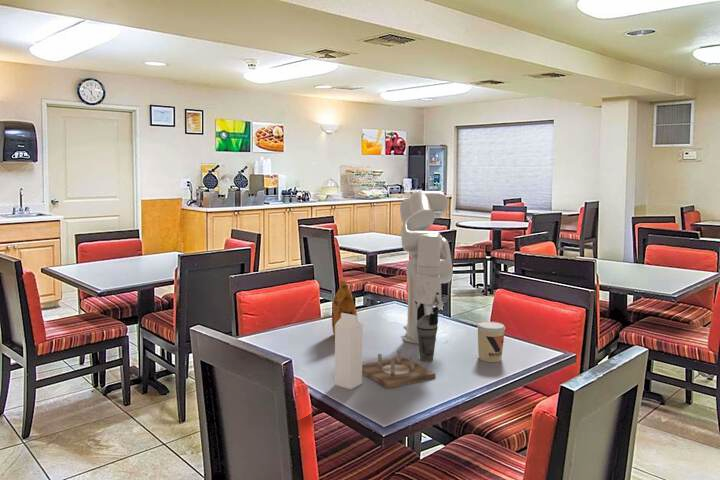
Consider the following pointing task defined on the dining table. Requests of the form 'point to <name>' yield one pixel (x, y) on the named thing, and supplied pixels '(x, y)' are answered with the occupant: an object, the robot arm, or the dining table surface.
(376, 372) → the cup stand
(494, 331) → the coffee cup
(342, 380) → the milk
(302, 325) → the dining table surface
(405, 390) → the dining table surface
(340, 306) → the coffee package
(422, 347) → the beverage cup
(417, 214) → the robot arm
